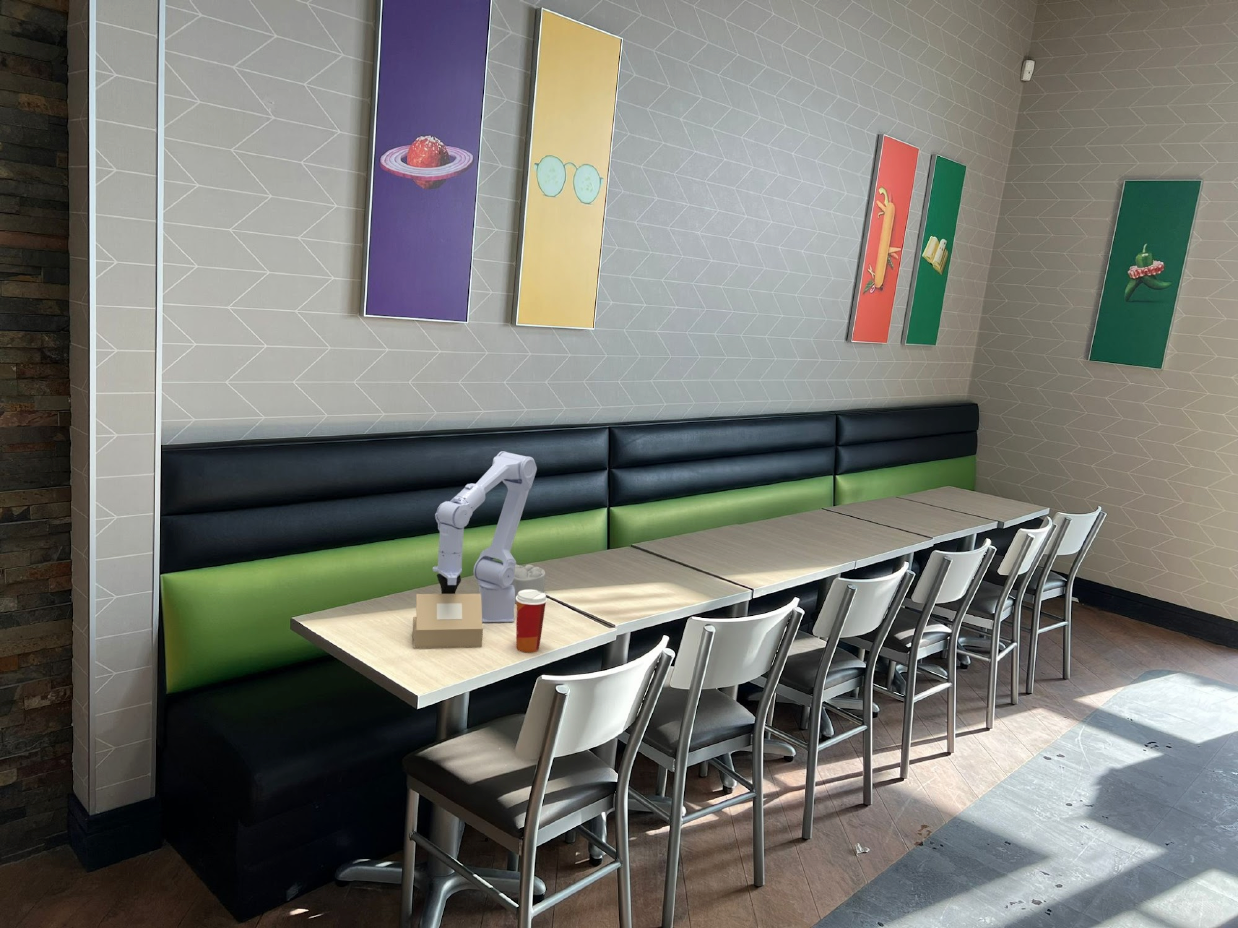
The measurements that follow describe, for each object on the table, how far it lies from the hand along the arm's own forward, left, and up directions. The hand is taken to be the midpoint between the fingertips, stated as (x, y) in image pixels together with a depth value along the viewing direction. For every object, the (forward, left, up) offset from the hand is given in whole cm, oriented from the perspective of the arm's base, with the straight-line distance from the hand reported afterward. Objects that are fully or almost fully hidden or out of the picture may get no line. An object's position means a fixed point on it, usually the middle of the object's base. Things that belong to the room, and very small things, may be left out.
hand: (447, 603), depth 225 cm
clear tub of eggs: (-25, -28, -9) cm, 39 cm away
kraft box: (0, +3, -8) cm, 9 cm away
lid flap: (0, +5, 0) cm, 5 cm away
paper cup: (-19, +9, -9) cm, 23 cm away
